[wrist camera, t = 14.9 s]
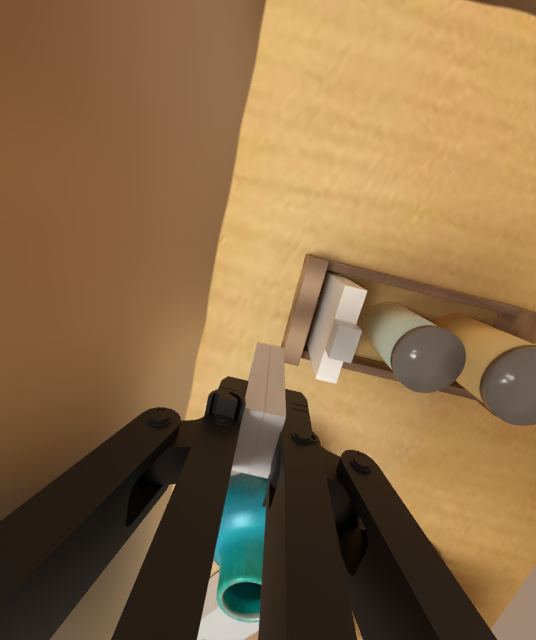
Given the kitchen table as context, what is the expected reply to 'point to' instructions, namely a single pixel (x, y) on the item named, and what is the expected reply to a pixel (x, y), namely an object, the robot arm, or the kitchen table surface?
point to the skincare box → (221, 619)
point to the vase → (242, 547)
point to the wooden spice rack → (314, 268)
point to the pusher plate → (323, 319)
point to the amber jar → (496, 368)
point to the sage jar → (414, 347)
